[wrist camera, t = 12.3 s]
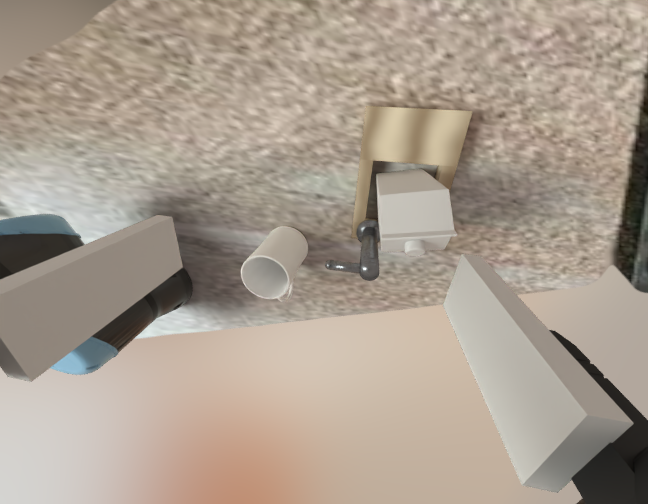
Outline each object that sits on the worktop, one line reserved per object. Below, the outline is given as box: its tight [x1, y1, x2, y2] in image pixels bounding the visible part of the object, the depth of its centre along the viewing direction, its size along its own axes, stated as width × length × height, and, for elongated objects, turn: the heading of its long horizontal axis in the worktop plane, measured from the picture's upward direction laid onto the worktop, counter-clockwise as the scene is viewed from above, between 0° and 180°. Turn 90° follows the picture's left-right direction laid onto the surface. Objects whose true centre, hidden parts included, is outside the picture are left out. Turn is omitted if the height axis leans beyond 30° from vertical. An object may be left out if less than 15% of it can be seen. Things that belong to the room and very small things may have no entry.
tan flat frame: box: [351, 106, 473, 239], centre depth 39 cm, size 14×20×2 cm
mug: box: [241, 226, 308, 302], centre depth 45 cm, size 12×9×12 cm
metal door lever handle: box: [325, 220, 380, 281], centre depth 38 cm, size 8×4×16 cm, turn 87°
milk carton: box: [376, 169, 458, 257], centre depth 33 cm, size 7×7×19 cm
